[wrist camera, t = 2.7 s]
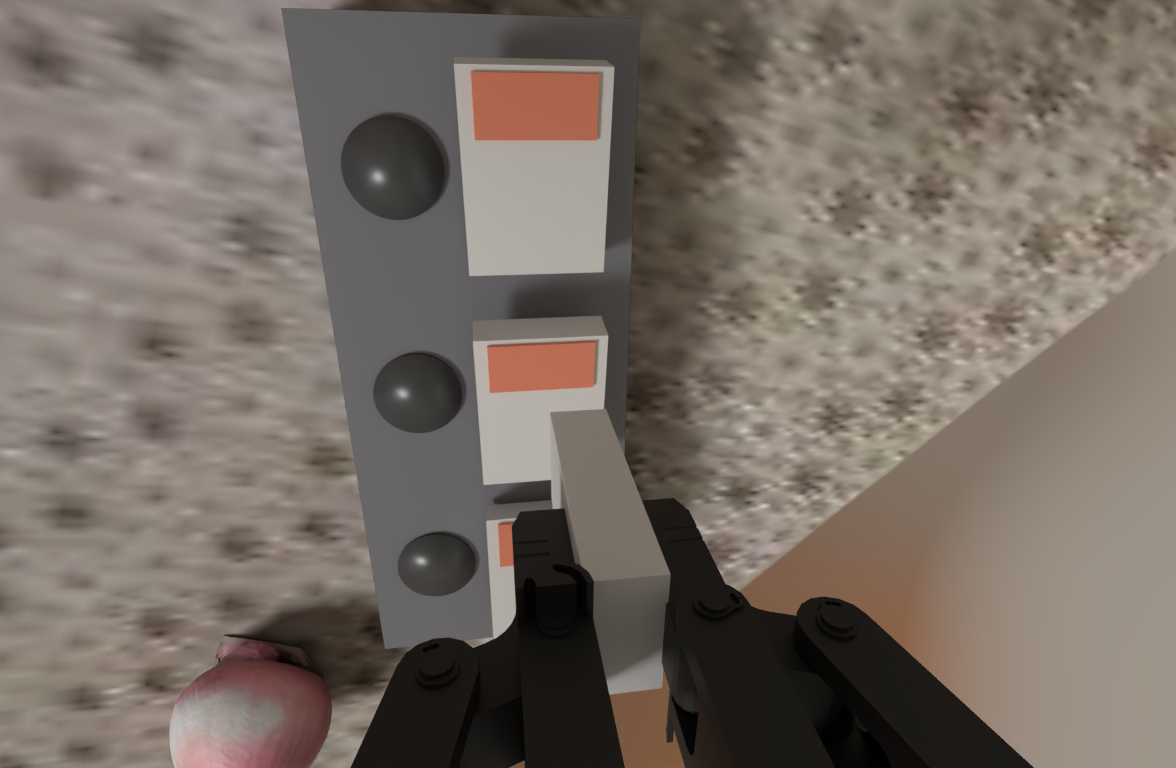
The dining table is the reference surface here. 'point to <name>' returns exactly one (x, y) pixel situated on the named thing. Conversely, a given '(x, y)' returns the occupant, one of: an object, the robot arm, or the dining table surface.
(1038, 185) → the dining table surface
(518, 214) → the rocker
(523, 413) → the rocker
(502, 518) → the rocker
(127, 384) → the dining table surface
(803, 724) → the robot arm
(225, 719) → the onion
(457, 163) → the switch panel
